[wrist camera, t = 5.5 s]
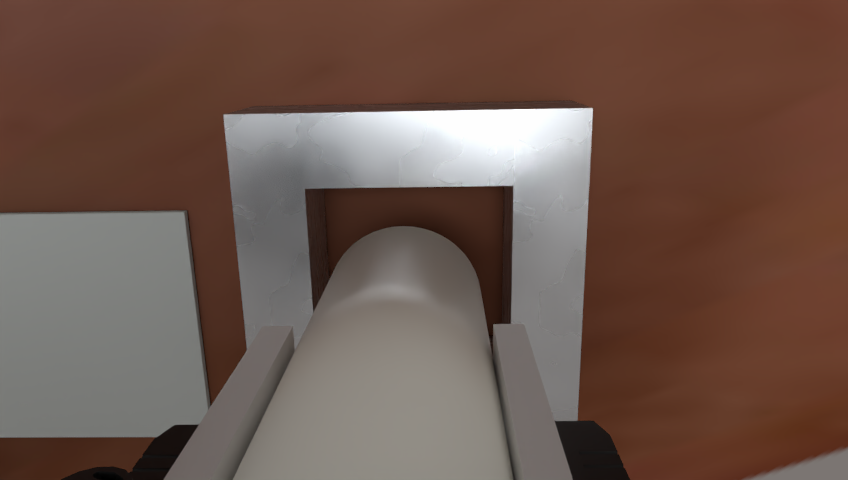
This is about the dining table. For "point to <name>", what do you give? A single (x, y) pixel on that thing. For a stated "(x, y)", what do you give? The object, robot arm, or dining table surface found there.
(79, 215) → the pad
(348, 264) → the off-white cylinder
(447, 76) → the dining table surface
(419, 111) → the housing
